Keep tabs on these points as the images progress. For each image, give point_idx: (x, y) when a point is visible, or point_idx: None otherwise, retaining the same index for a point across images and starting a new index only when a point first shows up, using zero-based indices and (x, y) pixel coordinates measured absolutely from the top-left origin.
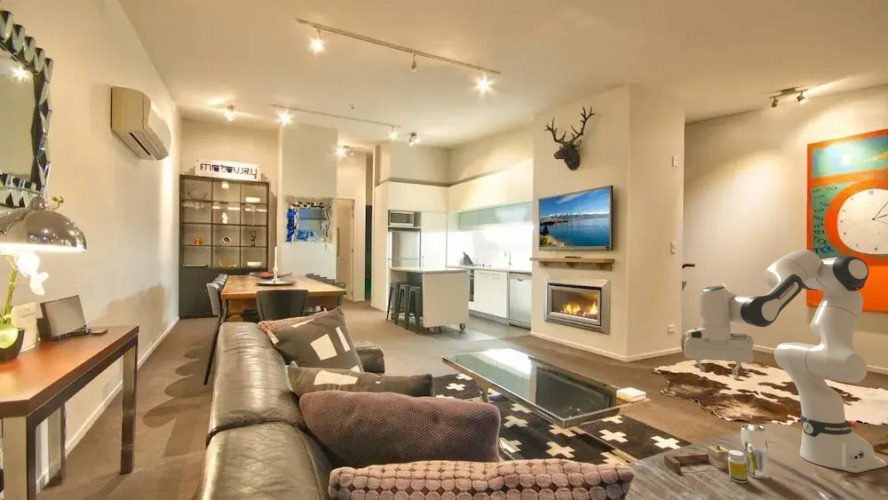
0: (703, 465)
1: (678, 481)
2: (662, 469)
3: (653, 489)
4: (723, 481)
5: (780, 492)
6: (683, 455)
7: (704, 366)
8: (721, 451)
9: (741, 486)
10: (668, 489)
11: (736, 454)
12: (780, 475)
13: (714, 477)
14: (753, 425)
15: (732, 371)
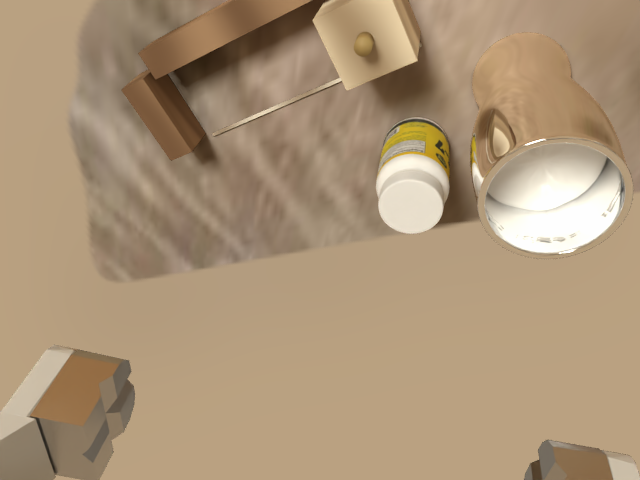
0: (298, 41)
1: (200, 205)
2: (139, 127)
3: (135, 265)
4: (353, 172)
5: None
6: (203, 49)
7: (85, 439)
8: (373, 74)
9: None
10: (175, 258)
11: (405, 226)
12: (632, 57)
13: (326, 148)
14: (587, 142)
15: (556, 473)
